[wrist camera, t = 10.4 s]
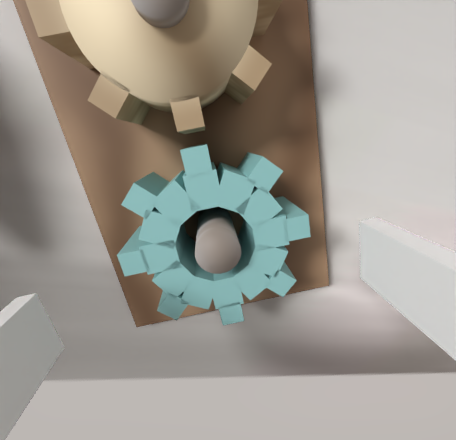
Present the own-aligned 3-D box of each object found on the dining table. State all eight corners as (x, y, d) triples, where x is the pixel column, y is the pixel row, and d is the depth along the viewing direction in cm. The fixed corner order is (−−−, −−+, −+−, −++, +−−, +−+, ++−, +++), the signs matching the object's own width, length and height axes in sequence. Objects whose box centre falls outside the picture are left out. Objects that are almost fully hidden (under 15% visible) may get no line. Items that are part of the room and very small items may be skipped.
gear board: (140, 317, 23) (111, 394, 16) (-10, -90, 14) (-216, -310, 7) (322, 278, 23) (372, 336, 16) (287, -144, 14) (361, -403, 8)
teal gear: (118, 161, 17) (85, 169, 13) (274, 129, 18) (299, 125, 13) (161, 295, 21) (148, 341, 16) (292, 267, 21) (317, 304, 16)
